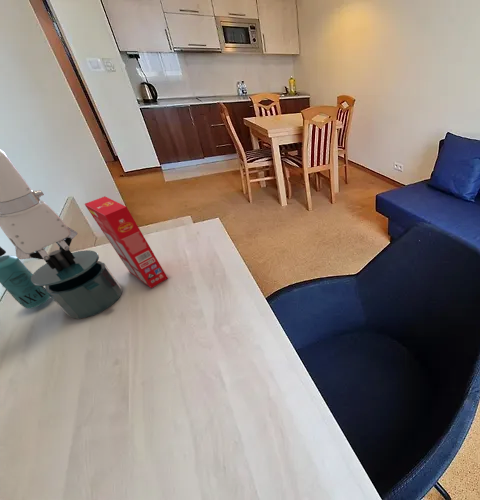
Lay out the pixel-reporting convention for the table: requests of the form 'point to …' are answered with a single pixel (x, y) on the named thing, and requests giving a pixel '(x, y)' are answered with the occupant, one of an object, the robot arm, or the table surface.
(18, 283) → the beverage bottle
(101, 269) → the pot
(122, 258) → the food packaging
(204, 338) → the table surface
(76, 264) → the lid
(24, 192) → the robot arm
